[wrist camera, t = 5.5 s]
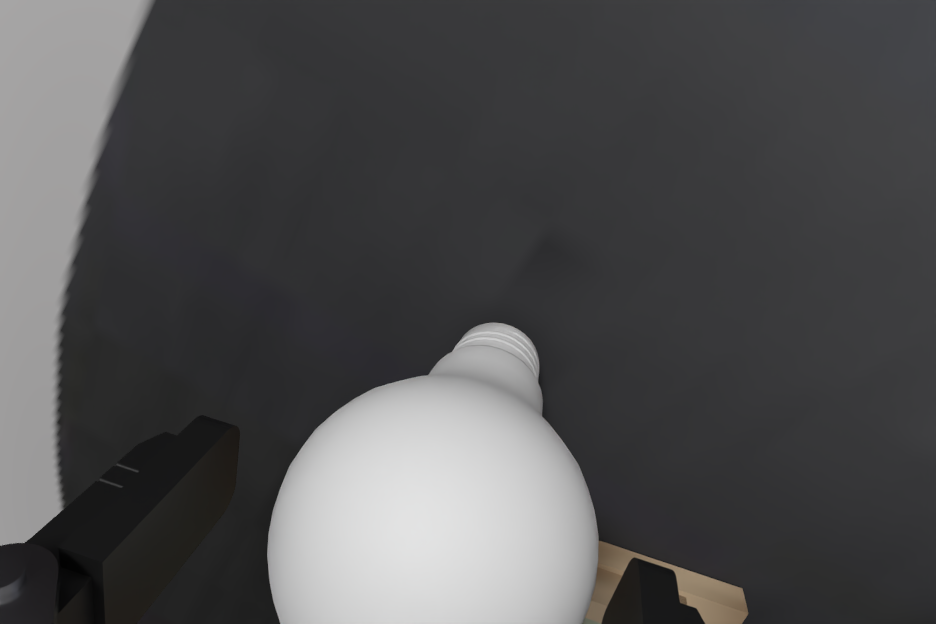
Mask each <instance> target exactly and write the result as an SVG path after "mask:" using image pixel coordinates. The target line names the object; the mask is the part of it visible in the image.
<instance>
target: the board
mask: <svg viewBox="0 0 936 624" xmlns="http://www.w3.org/2000/svg"><path fill="white" fill-rule="evenodd" d="M634 557H635V558H638V559H641V560H644V561H647V562H650V563H654V564H657V565H660V566H663V567H666V568H669V569H672V570H673V571H674V572H675V574H676V578H677V585H678V592H679V599H680V603H682V604H685V605H688V606H691V607H694V608H697V610H698V612H699V613H700V615H701V617H702V619H703V621H704V622H705V624H742V623H743V621H744V620H745V618H746V617H747V615H748V610H747V606H746V601H745V597H744V593H743V589H742V588H739V587H736V586H733V585H730V584H727V583H724V582H721V581H718V580H715V579H712V578H709V577H706V576H703V575H700V574H697V573H695V572H692V571H689V570H686V569H683V568H680V567H677V566H674V565H671V564H668V563H665V562H662V561H659V560H656V559H653V558H650V557H647V556H644V555H641V554H638V553H635V552H632V551H629V550H626V549H623V548H620V547H617V546H614V545H611V544H608V543H605V542H602V541H599V543H598V566H597V575H596V584H595V588H594V591H593V595H592V598H591V602H590V605H589V609H588V611H587V614H586V616H585V618H584V621H583V623H582V624H601V623H602V619H603V616H604V613H605V610H606V608H607V606H608V604H609V602H610V600H611V598H612V596H613V594H614V592H615V590H616V588H617V586H618V584H619V582H620V580H621V578H622V576H623V573H624V571H625V569H626V567H627V565H628V563H629V562H630V560H631V559H632V558H634Z"/></svg>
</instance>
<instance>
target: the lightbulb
mask: <svg viewBox="0 0 936 624" xmlns="http://www.w3.org/2000/svg"><path fill="white" fill-rule="evenodd" d="M538 376H539V358H538V353H537V351H536V348H535V346H534V345H533V343H532V342H531V340H530V339H529V338H528V337H527V336H526V335H525V334H524V333H522V332H521V331H520V330H518V329H516V328H514V327H512V326H510V325H506V324H502V323H485V324H482V325H478V326H476V327H474V328H472V329H471V330H469V331H468V332H467V333H466V334H465V335H464V336H463V337H462V339H461V340H460V342H458V344H457V345H456V346H455V348H454V349H453V351H452V352H451V353H449V354H447V355H446V356H444V357H443V358H442V359H441V360H440V361H438V363H437V364H436V365H435V367H434V368H433V369H432V371H431V372H430V373H429V375H427V376H419V377H414V378H410V379H406V380H401V381H398V382H394V383H391V384H387V385H383V386H380V387H376V388H374V389H372V390H370V391H368V392H366V393H364V394H362V395H361V396H359V397H357V398H355V399H353V400H352V401H350V402H349V403H347V404H346V405H345V406H343V407H342V408H340V409H339V410H337V411H336V412H335V413H334V414H332V415H331V416H330V417H329V418H328V419H327V420H326V421H324V422H323V423H322V424H321V425H320V426H319V427H318V428H316V430H315V431H314V432H313V433H312V435H311V436H310V437H309V439H308V440H307V441H306V443H305V444H304V445H303V447H302V448H301V450H300V451H299V453H298V454H297V456H296V457H295V459H294V460H293V461H292V463H291V464H290V466H289V469H288V471H287V473H286V476H285V478H284V481H283V483H282V486H281V488H280V491H279V494H278V497H277V500H276V503H275V506H274V509H273V513H272V519H271V524H270V529H269V535H268V551H267V558H268V569H269V580H270V586H271V591H272V597H273V602H274V605H275V608H276V611H277V614H278V617H279V621H280V624H582V623H583V621H584V618H585V616H586V614H587V611H588V609H589V605H590V602H591V598H592V595H593V591H594V588H595V584H596V575H597V566H598V543H599V537H598V530H597V523H596V517H595V511H594V507H593V504H592V501H591V497H590V494H589V490H588V487H587V485H586V482H585V480H584V477H583V475H582V472H581V470H580V467H579V465H578V463H577V462H576V460H575V459H574V457H573V456H572V454H571V453H570V451H569V450H568V448H567V447H566V445H565V444H564V442H563V441H562V440H561V438H560V437H559V436H558V435H557V433H556V432H555V431H554V429H553V428H552V427H551V426H550V424H549V423H548V422H547V421H546V420H545V419H544V418H543V417H542V408H543V398H542V392H541V389H540V386H539V384H538Z"/></svg>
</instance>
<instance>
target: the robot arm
mask: <svg viewBox="0 0 936 624" xmlns="http://www.w3.org/2000/svg"><path fill="white" fill-rule="evenodd" d="M239 438H240V431H239V428H238V427H237V426H234V425H231V424H228V423H225V422H222V421H219V420H216V419H213V418H210V417H207V416H203V415H201V416H198V417H197V418H195V419H194V420H193V421H192V422H191V423H190V424H189V425H188V426H187V427H186V428H185V429H184V430H182V431H181V432H180V433H179V434H178V435H174V434H171V433H168V432H164V433H162V434H159V435H157V436H155V437H153V438H151V439H148V440H146V441H144V442H142V443H139V444H138V445H136V446H135V447H134V448H133V449H132V450H131V451H130V452H128V453H127V454H126V455H125V456H124V457H123V458H122V459H121V460H119V461H118V462H117V465H116V466H113V467H111V468H110V469H109V470H108V471H107V472H106V473H105V474H103V475H102V476H101V477H100V480H99V481H98V482H97V481H95V482H94V483H93V484H92V485H91V486H90V487H89V488H87V489H86V490H85V491H84V492H83V493H82V494H81V495H79V496H78V497H77V498H76V499H75V500H74V501H73V502H72V503H70V504H69V505H68V506H67V507H66V508H65V509H64V510H62V511H61V512H60V513H59V514H58V515H57V516H56V517H54V518H53V519H52V520H51V521H50V522H49V523H48V524H46V525H45V526H44V527H43V528H42V529H41V530H40V531H38V532H37V533H36V534H35V535H34V536H33V537H32V538H30V539H29V540H28V541H27V542H25V543H15V544H7V545H2V546H0V624H137V622H138V621H139V620H140V619H141V617H142V616H143V615H144V613H145V612H146V611H147V610H148V608H149V607H150V606H151V605H152V603H153V602H154V601H155V600H156V598H157V597H158V596H159V595H160V593H161V592H162V591H163V589H164V588H165V587H166V586H167V584H168V583H169V582H170V581H171V579H172V578H173V577H174V576H175V574H176V573H177V572H178V571H179V569H180V568H181V567H182V565H183V564H184V563H185V562H186V560H187V559H188V558H189V557H190V555H191V554H192V553H193V552H194V550H195V549H196V548H197V547H198V545H199V544H200V543H201V541H202V540H203V539H204V538H205V536H206V535H207V534H208V533H209V531H210V530H211V529H212V528H213V526H214V525H215V524H216V522H217V521H218V520H219V519H220V517H221V516H222V515H223V513H224V512H225V510H226V509H227V507H228V505H229V503H230V501H231V498H232V496H233V493H234V489H235V484H236V474H237V462H238V450H239ZM601 624H705V622H704V621H703V619H702V617H701V615H700V613H699V612H698V610H697V608H694V607H691V606H688V605H685V604H682V603H680V599H679V592H678V585H677V578H676V574H675V572H674V571H673V570H672V569H669V568H666V567H663V566H660V565H657V564H654V563H650V562H647V561H644V560H641V559H638V558H635V557H634V558H632V559H631V560H630V562H629V563H628V565H627V567H626V569H625V571H624V573H623V576H622V578H621V580H620V582H619V584H618V586H617V588H616V590H615V592H614V594H613V596H612V598H611V600H610V602H609V604H608V606H607V608H606V610H605V613H604V616H603V619H602V623H601Z"/></svg>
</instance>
